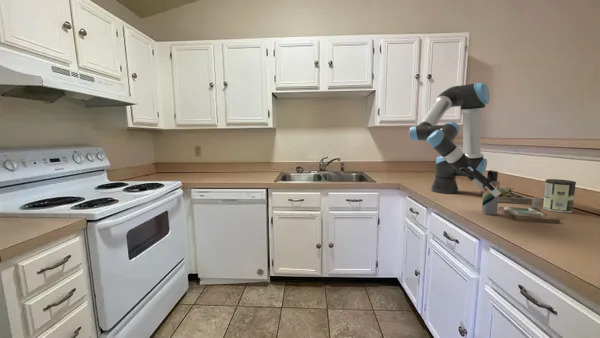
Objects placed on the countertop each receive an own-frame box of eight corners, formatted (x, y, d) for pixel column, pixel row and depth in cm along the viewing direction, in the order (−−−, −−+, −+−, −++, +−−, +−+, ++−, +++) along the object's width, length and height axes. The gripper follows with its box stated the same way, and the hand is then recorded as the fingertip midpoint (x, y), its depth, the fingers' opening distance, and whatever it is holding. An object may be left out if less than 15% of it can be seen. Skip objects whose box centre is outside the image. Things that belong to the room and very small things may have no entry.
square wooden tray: (480, 195, 156) (480, 191, 155) (513, 196, 152) (513, 192, 151) (493, 202, 139) (494, 197, 139) (531, 203, 135) (531, 199, 135)
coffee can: (561, 207, 129) (564, 179, 127) (578, 213, 119) (582, 183, 117) (537, 206, 131) (540, 178, 129) (552, 212, 121) (555, 182, 119)
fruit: (509, 200, 149) (514, 187, 146) (509, 204, 142) (514, 191, 140) (490, 194, 154) (494, 182, 152) (489, 199, 148) (493, 186, 145)
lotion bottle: (485, 210, 123) (488, 169, 121) (499, 213, 119) (503, 170, 116) (479, 212, 120) (482, 170, 118) (493, 216, 116) (497, 171, 113)
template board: (498, 210, 125) (499, 194, 124) (535, 212, 121) (536, 196, 120) (516, 220, 109) (518, 203, 108) (559, 223, 106) (562, 205, 105)
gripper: (442, 161, 133) (472, 191, 131) (458, 166, 109) (496, 204, 107) (454, 151, 131) (485, 181, 129) (473, 154, 107) (513, 192, 105)
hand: (490, 191), depth 118 cm, fingers open, 13 cm apart
